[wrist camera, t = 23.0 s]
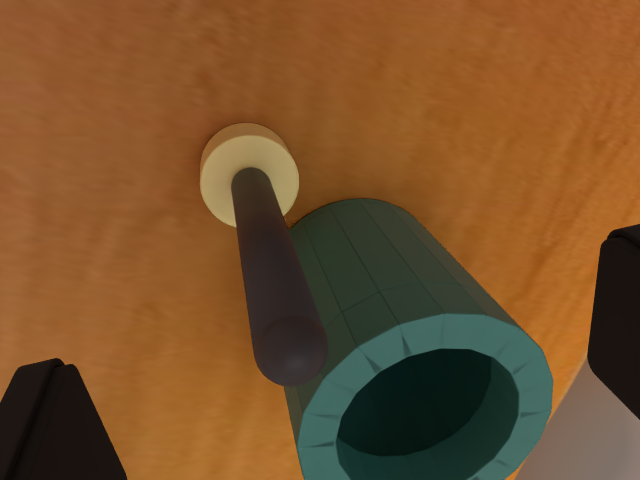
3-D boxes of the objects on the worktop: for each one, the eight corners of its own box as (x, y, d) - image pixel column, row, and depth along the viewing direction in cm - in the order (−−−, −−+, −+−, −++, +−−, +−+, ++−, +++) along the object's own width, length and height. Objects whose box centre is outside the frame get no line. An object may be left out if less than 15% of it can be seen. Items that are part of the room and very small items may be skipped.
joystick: (189, 132, 28) (169, 312, 12) (282, 114, 28) (382, 262, 12) (212, 217, 30) (221, 467, 14) (297, 199, 31) (400, 419, 15)
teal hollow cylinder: (248, 220, 31) (274, 355, 19) (430, 181, 32) (560, 285, 20) (282, 370, 35) (320, 550, 24) (439, 331, 37) (547, 484, 25)
